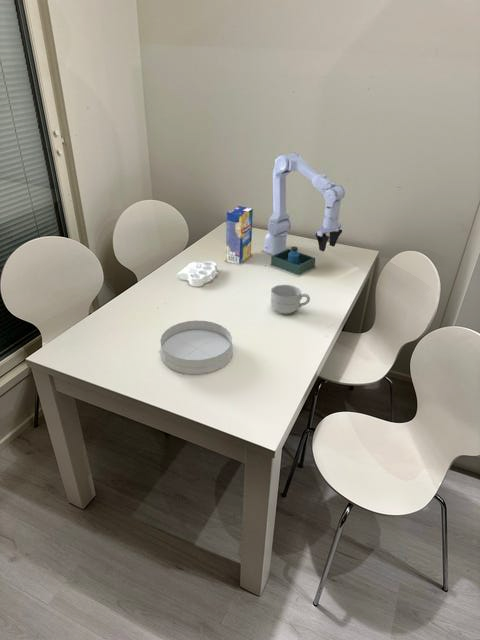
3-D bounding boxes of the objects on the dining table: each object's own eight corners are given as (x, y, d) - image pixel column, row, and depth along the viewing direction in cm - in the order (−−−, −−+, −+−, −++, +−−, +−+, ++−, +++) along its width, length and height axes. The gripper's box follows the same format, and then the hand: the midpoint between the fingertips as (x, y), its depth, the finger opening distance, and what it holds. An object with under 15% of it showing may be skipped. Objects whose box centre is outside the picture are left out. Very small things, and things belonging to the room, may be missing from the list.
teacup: (264, 312, 164) (266, 292, 159) (277, 299, 172) (278, 280, 168) (301, 322, 158) (303, 302, 154) (311, 309, 167) (314, 289, 162)
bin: (270, 266, 198) (271, 256, 196) (287, 258, 206) (288, 248, 203) (298, 276, 190) (299, 266, 187) (314, 267, 198) (315, 257, 195)
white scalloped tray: (193, 265, 197) (224, 271, 192) (173, 282, 182) (207, 289, 178) (193, 258, 195) (224, 263, 191) (173, 274, 180) (207, 281, 176)
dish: (196, 325, 155) (195, 313, 152) (246, 350, 143) (247, 337, 140) (145, 354, 140) (144, 340, 137) (197, 384, 128) (197, 370, 125)
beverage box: (250, 256, 207) (252, 208, 195) (239, 264, 198) (241, 215, 187) (237, 252, 209) (238, 205, 198) (226, 261, 201) (226, 212, 190)
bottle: (285, 265, 197) (286, 247, 193) (291, 262, 200) (293, 244, 196) (293, 268, 195) (295, 250, 190) (300, 265, 198) (302, 247, 193)
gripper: (329, 223, 177) (325, 255, 184) (349, 215, 186) (344, 246, 193) (314, 218, 181) (310, 250, 188) (334, 211, 190) (330, 241, 197)
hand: (327, 248), depth 191 cm, fingers open, 7 cm apart
